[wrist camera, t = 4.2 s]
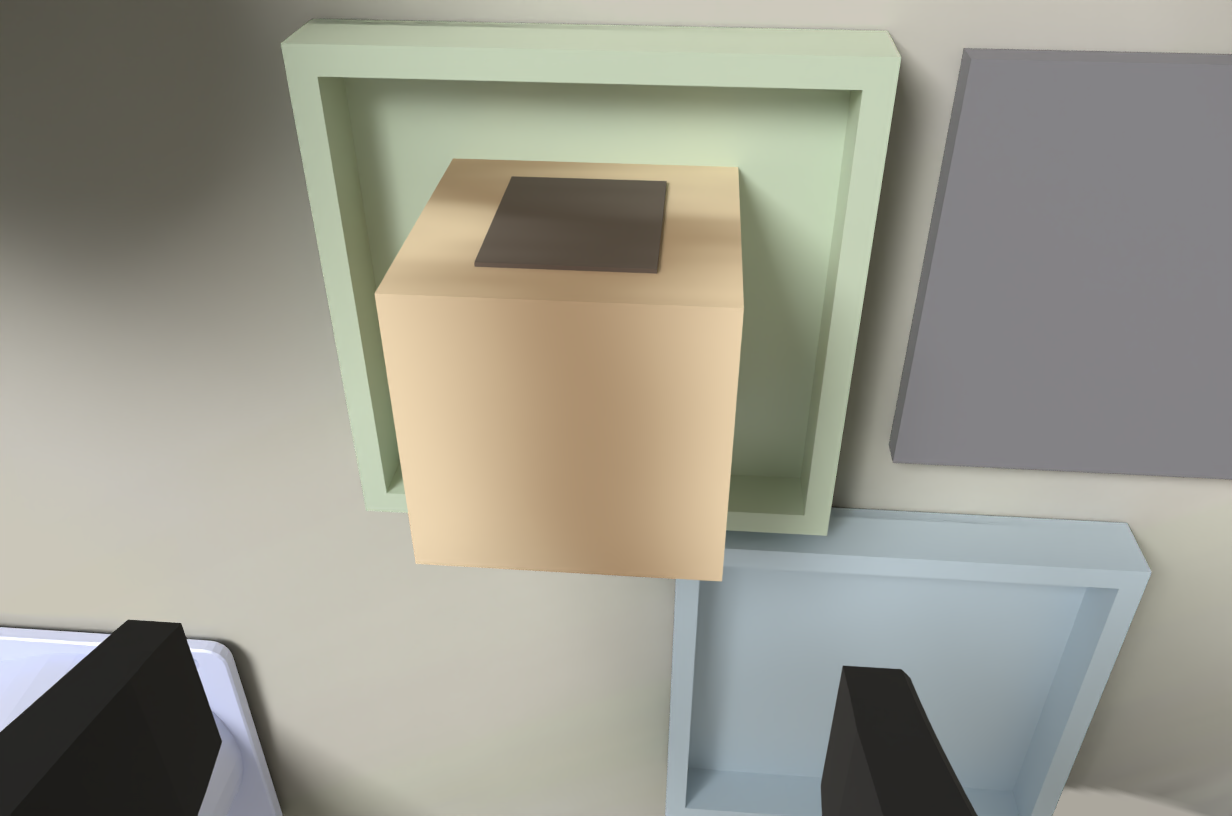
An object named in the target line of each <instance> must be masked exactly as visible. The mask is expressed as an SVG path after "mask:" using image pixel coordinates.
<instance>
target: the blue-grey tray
mask: <svg viewBox="0 0 1232 816" xmlns="http://www.w3.org/2000/svg"><path fill="white" fill-rule="evenodd" d="M1151 573H1152V572H1151V570H1150V568H1149V566H1148V564H1147V562H1146V560H1145V558H1144V556H1143V554H1142V552H1141V550H1140V548H1139V546H1138V544H1137V542H1136V540H1135V538H1134V536H1133V534H1132V532H1131V530H1130V528H1129V526H1128V524H1127V523H1118V522H1099V521H1080V520H1061V519H1042V518H1023V517H1004V516H985V515H966V514H947V513H928V512H909V511H890V510H871V509H852V508H833V507H831V512H830V519H829V525H828V532H827V536H822V535H804V534H785V533H767V532H749V531H730V530H726V538H725V550H724V563H723V575H722V581H705V580H688V579H676V589H675V611H674V634H673V656H672V678H671V700H670V723H669V745H668V767H667V789H666V812H665V816H822V807H821V780H822V774H823V769H824V764H825V758H826V753H827V748H828V742H829V737H830V731H831V726H832V721H833V715H834V710H835V704H836V699H837V694H838V688H839V683H840V678H841V672H842V667H843V665H844V666H859V667H875V668H890V669H902V670H903V671H904V672H905V673H906V674H907V675H908V676H909V677H910V678H911V680H912V683H913V685H914V688H915V690H916V692H917V695H918V697H919V699H920V701H921V704H922V706H923V708H924V710H925V712H926V715H927V717H928V719H929V721H930V723H931V725H932V728H933V730H934V732H935V734H936V736H937V738H938V740H939V742H940V744H941V746H942V748H943V750H944V752H945V754H946V756H947V758H948V760H949V762H950V764H951V766H952V768H953V770H954V772H955V774H956V776H957V778H958V780H959V782H960V783H961V785H962V787H963V789H964V791H965V793H966V795H967V797H968V799H969V801H970V802H971V804H972V806H973V808H974V810H975V812H976V813H977V815H978V816H1052V815H1053V813H1054V810H1055V808H1056V805H1057V803H1058V801H1059V798H1060V796H1061V793H1062V791H1063V788H1064V786H1065V784H1066V781H1067V779H1068V776H1069V774H1070V771H1071V769H1072V766H1073V764H1074V761H1075V759H1076V757H1077V754H1078V752H1079V749H1080V747H1081V744H1082V742H1083V739H1084V737H1085V734H1086V732H1087V730H1088V727H1089V725H1090V722H1091V720H1092V717H1093V715H1094V712H1095V710H1096V708H1097V705H1098V703H1099V700H1100V698H1101V695H1102V693H1103V690H1104V688H1105V685H1106V683H1107V681H1108V678H1109V676H1110V673H1111V671H1112V668H1113V666H1114V663H1115V661H1116V658H1117V656H1118V654H1119V651H1120V649H1121V646H1122V644H1123V641H1124V639H1125V636H1126V634H1127V632H1128V629H1129V627H1130V624H1131V622H1132V619H1133V617H1134V614H1135V612H1136V609H1137V607H1138V605H1139V602H1140V600H1141V597H1142V595H1143V592H1144V590H1145V587H1146V585H1147V582H1148V580H1149V578H1150V575H1151Z"/></svg>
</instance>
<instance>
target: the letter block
mask: <svg viewBox="0 0 1232 816" xmlns="http://www.w3.org/2000/svg"><path fill="white" fill-rule="evenodd" d="M375 300H376V307H377V313H378V320H379V326H380V333H381V339H382V346H383V352H384V359H385V365H386V372H387V379H388V385H389V392H390V398H391V405H392V411H393V418H394V424H395V431H396V437H397V444H398V450H399V457H400V464H401V470H402V477H403V483H404V490H405V496H406V503H407V509H408V516H409V522H410V529H411V535H412V542H413V549H414V555H415V562H416V564H429V565H446V566H464V567H481V568H498V569H515V570H533V571H550V572H567V573H584V574H602V575H619V576H636V577H653V578H671V579H688V580H705V581H722V575H723V563H724V550H725V538H726V525H727V513H728V500H729V488H730V475H731V463H732V451H733V438H734V426H735V413H736V401H737V388H738V376H739V364H740V351H741V339H742V326H743V314H744V297H743V272H742V248H741V223H740V198H739V173H738V167H721V166H688V165H655V164H621V163H588V162H555V161H522V160H489V159H456V158H453V159H452V161H451V163H450V164H449V166H448V168H447V170H446V171H445V173H444V175H443V176H442V178H441V180H440V182H439V183H438V185H437V187H436V189H435V190H434V192H433V194H432V195H431V197H430V199H429V201H428V202H427V204H426V206H425V207H424V209H423V211H422V213H421V214H420V216H419V218H418V220H417V221H416V223H415V225H414V226H413V228H412V230H411V232H410V233H409V235H408V237H407V238H406V240H405V242H404V244H403V245H402V247H401V249H400V251H399V252H398V254H397V256H396V257H395V259H394V261H393V263H392V264H391V266H390V268H389V269H388V271H387V273H386V275H385V276H384V278H383V280H382V282H381V283H380V285H379V287H378V288H377V290H376V292H375Z"/></svg>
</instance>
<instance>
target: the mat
mask: <svg viewBox="0 0 1232 816" xmlns="http://www.w3.org/2000/svg"><path fill="white" fill-rule="evenodd" d="M889 447H890V452H891V456H892V461H893V463H910V464H930V465H950V466H970V467H990V468H1011V469H1031V470H1051V471H1071V472H1092V473H1112V474H1132V475H1152V476H1172V477H1193V478H1213V479H1232V54H1197V53H1151V52H1106V51H1060V50H1015V49H970V48H964V50H963V55H962V61H961V66H960V71H959V77H958V82H957V87H956V92H955V98H954V103H953V108H952V114H951V119H950V124H949V130H948V135H947V140H946V145H945V151H944V156H943V161H942V167H941V172H940V177H939V182H938V188H937V193H936V198H935V204H934V209H933V214H932V219H931V225H930V230H929V235H928V241H927V246H926V251H925V257H924V262H923V267H922V272H921V278H920V283H919V288H918V294H917V299H916V304H915V309H914V315H913V320H912V325H911V331H910V336H909V341H908V347H907V352H906V357H905V362H904V368H903V373H902V378H901V384H900V389H899V394H898V399H897V405H896V410H895V415H894V421H893V426H892V431H891V436H890V442H889Z"/></svg>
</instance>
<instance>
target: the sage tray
mask: <svg viewBox="0 0 1232 816" xmlns="http://www.w3.org/2000/svg"><path fill="white" fill-rule="evenodd" d="M281 48H282V54H283V59H284V65H285V70H286V76H287V81H288V87H289V92H290V98H291V103H292V109H293V114H294V119H295V125H296V130H297V136H298V141H299V147H300V152H301V158H302V163H303V169H304V174H305V180H306V185H307V190H308V196H309V201H310V207H311V212H312V218H313V223H314V229H315V234H316V240H317V245H318V250H319V256H320V261H321V267H322V272H323V278H324V283H325V289H326V294H327V300H328V305H329V311H330V316H331V321H332V327H333V332H334V338H335V343H336V349H337V354H338V360H339V365H340V371H341V376H342V382H343V387H344V392H345V398H346V403H347V409H348V414H349V420H350V425H351V431H352V436H353V442H354V447H355V452H356V458H357V463H358V469H359V474H360V480H361V485H362V491H363V496H364V502H365V507H366V511H382V512H400V513H408V509H407V503H406V496H405V490H404V483H403V477H402V470H401V464H400V457H399V450H398V444H397V437H396V431H395V424H394V418H393V411H392V405H391V398H390V392H389V385H388V379H387V372H386V365H385V359H384V352H383V346H382V339H381V333H380V326H379V320H378V313H377V307H376V300H375V292H376V290H377V288H378V287H379V285H380V283H381V282H382V280H383V278H384V276H385V275H386V273H387V271H388V269H389V268H390V266H391V264H392V263H393V261H394V259H395V257H396V256H397V254H398V252H399V251H400V249H401V247H402V245H403V244H404V242H405V240H406V238H407V237H408V235H409V233H410V232H411V230H412V228H413V226H414V225H415V223H416V221H417V220H418V218H419V216H420V214H421V213H422V211H423V209H424V207H425V206H426V204H427V202H428V201H429V199H430V197H431V195H432V194H433V192H434V190H435V189H436V187H437V185H438V183H439V182H440V180H441V178H442V176H443V175H444V173H445V171H446V170H447V168H448V166H449V164H450V163H451V161H452V159H453V158H456V159H489V160H522V161H555V162H588V163H621V164H655V165H688V166H721V167H738V173H739V198H740V223H741V248H742V272H743V297H744V314H743V326H742V339H741V351H740V364H739V376H738V388H737V401H736V413H735V426H734V438H733V451H732V463H731V475H730V488H729V500H728V513H727V525H726V530H730V531H749V532H767V533H785V534H804V535H822V536H827V532H828V525H829V519H830V512H831V506H832V499H833V493H834V487H835V480H836V474H837V467H838V461H839V454H840V448H841V442H842V435H843V429H844V422H845V416H846V409H847V403H848V397H849V390H850V384H851V377H852V371H853V365H854V358H855V352H856V345H857V339H858V332H859V326H860V320H861V313H862V307H863V300H864V294H865V287H866V281H867V275H868V268H869V262H870V255H871V249H872V242H873V236H874V230H875V223H876V217H877V210H878V204H879V197H880V191H881V185H882V178H883V172H884V165H885V159H886V152H887V146H888V140H889V133H890V127H891V120H892V114H893V107H894V101H895V95H896V88H897V82H898V75H899V69H900V62H901V56H900V54H899V52H898V50H897V48H896V46H895V44H894V42H893V40H892V38H891V36H890V34H889V32H888V31H875V30H827V29H780V28H732V27H684V26H637V25H589V24H541V23H494V22H446V21H398V20H350V19H311V20H310V21H308V22H307V23H306V24H305V25H303V26H302V27H301V28H300V29H298V30H297V31H296V32H294V33H293V34H292V35H291V36H289V37H288V38H287V39H286V40H284V41H283V42H282V43H281Z"/></svg>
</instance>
